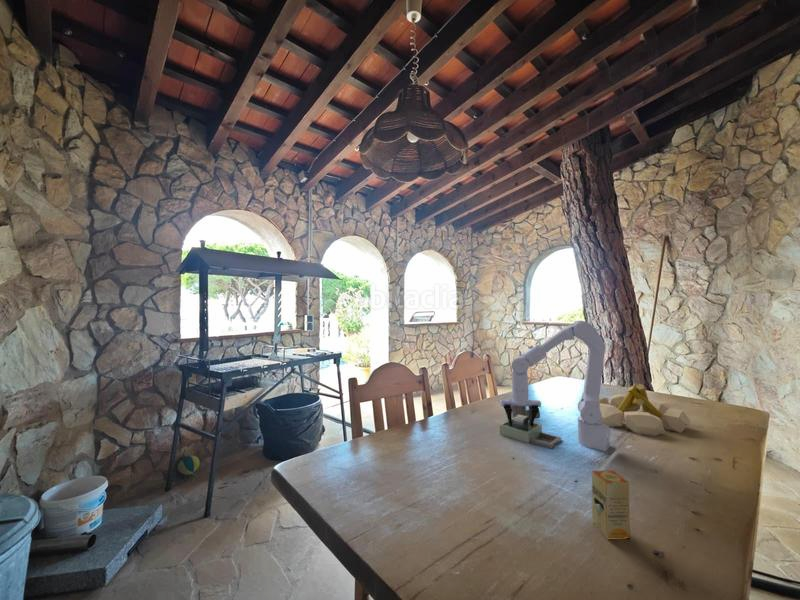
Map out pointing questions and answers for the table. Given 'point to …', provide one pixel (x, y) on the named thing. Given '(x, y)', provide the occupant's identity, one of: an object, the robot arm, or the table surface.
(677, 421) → the campfire
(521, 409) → the pipe
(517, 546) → the table surface
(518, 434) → the bin
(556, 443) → the socket block
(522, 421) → the grey plug block
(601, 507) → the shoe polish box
